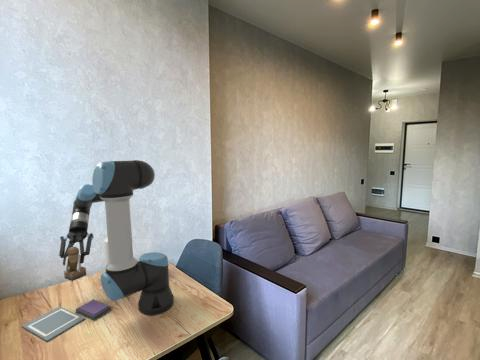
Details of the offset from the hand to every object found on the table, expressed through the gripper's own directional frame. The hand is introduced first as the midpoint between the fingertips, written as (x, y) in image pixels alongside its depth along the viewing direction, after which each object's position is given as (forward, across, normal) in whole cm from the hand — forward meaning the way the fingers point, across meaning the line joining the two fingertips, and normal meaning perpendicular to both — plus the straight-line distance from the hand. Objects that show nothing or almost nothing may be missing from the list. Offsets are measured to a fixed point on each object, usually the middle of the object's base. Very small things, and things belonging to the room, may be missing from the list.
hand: (72, 271), depth 112 cm
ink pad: (+16, -8, -9) cm, 20 cm away
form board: (+18, +5, -6) cm, 20 cm away
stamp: (0, 0, -6) cm, 6 cm away
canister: (-10, -14, -34) cm, 38 cm away
